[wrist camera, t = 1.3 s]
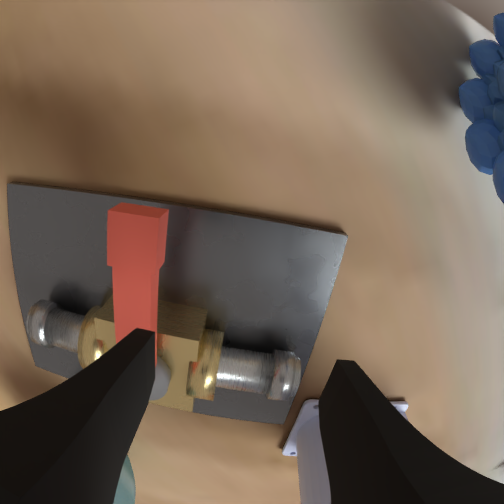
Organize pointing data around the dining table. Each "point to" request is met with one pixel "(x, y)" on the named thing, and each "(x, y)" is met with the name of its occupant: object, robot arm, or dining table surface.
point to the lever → (138, 274)
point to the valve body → (179, 296)
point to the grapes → (486, 106)
